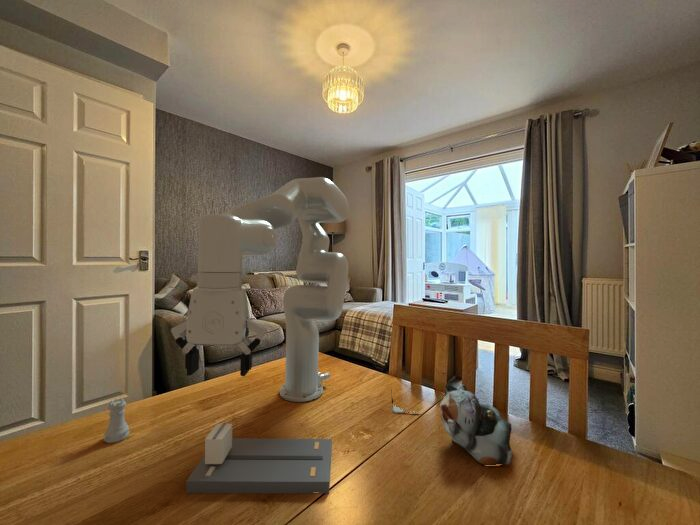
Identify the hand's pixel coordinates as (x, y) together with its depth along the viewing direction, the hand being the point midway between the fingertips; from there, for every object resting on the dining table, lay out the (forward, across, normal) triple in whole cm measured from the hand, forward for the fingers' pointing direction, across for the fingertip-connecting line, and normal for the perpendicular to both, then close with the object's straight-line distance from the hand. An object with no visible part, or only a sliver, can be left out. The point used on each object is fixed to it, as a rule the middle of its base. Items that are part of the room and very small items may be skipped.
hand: (219, 373), depth 56 cm
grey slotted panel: (+18, +9, 0) cm, 20 cm away
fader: (+16, 0, 0) cm, 16 cm away
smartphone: (+18, +41, +28) cm, 53 cm away
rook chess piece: (+18, -26, +9) cm, 33 cm away
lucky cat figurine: (+18, +52, +7) cm, 55 cm away
